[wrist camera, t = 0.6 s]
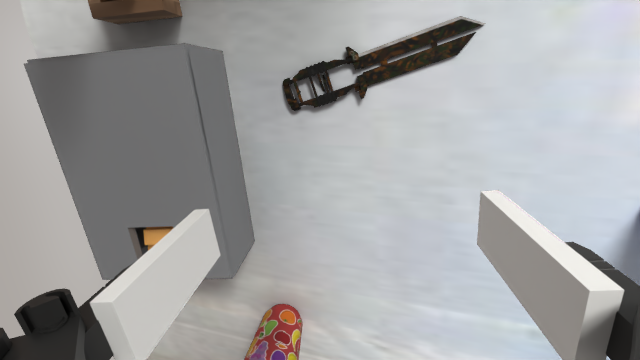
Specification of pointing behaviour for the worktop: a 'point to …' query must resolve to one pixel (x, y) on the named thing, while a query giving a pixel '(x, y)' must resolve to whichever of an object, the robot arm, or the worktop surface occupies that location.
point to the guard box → (146, 147)
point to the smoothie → (277, 335)
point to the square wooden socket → (134, 10)
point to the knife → (385, 61)
